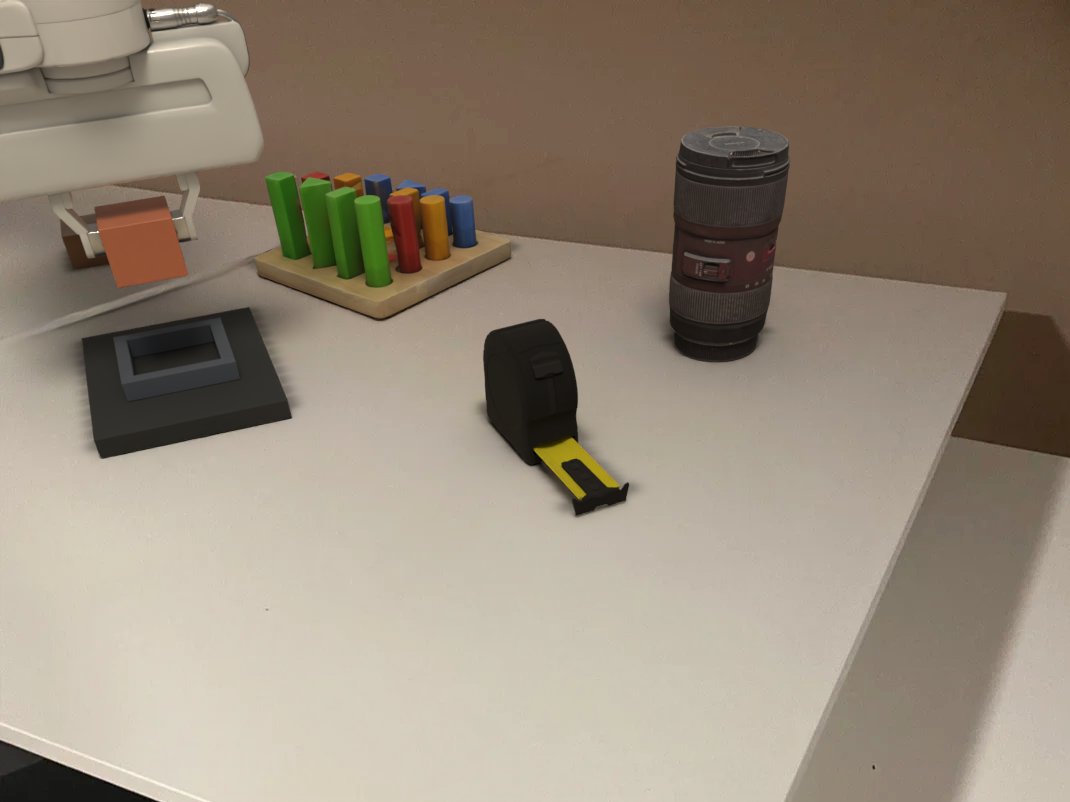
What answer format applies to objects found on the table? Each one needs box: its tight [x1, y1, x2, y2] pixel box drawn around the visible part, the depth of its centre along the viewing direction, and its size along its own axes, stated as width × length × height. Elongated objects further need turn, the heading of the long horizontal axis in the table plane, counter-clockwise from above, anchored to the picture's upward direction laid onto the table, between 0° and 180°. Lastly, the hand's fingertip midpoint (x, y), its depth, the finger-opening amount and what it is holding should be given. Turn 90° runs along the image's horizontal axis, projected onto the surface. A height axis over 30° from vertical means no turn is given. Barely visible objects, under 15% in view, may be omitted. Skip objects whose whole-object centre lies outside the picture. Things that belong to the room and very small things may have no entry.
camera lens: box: [668, 125, 791, 363], centre depth 77 cm, size 8×8×15 cm
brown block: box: [59, 213, 110, 271], centre depth 97 cm, size 5×5×4 cm
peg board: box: [254, 170, 512, 319], centre depth 93 cm, size 18×17×9 cm
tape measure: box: [482, 318, 630, 517], centre depth 68 cm, size 15×4×8 cm, turn 25°
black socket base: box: [81, 306, 292, 459], centre depth 80 cm, size 18×14×3 cm
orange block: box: [93, 195, 189, 289], centre depth 73 cm, size 5×5×4 cm
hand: (142, 246), depth 73 cm, fingers closed on orange block, 5 cm apart
